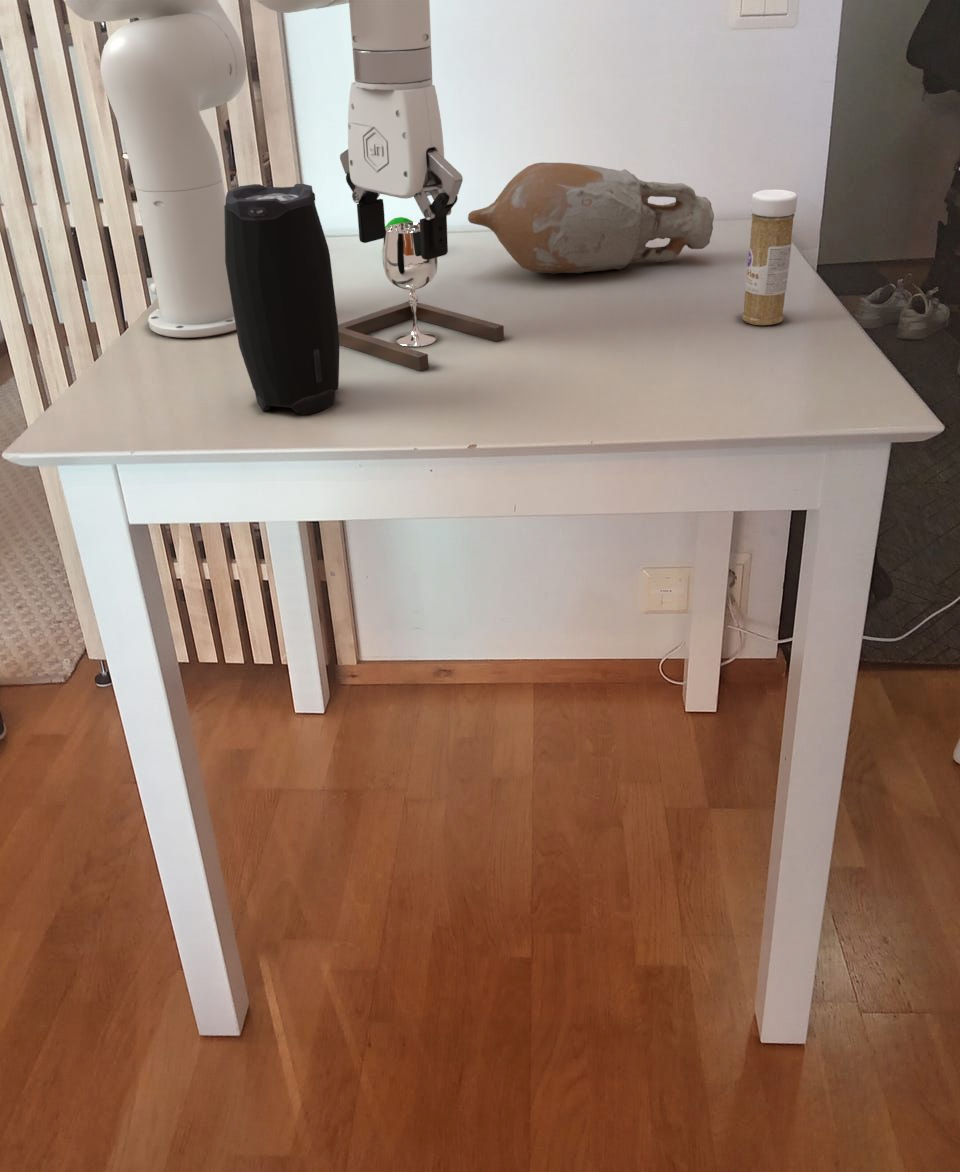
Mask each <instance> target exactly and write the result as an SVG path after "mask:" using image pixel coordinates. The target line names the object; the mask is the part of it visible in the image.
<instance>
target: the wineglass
mask: <svg viewBox="0 0 960 1172" xmlns="http://www.w3.org/2000/svg"><path fill="white" fill-rule="evenodd" d="M438 259H439V258H438V257H436V258H433V259H429V260H425V259H423V258H422V256H421V242H420V222H414V221H413V222H409V223H399V224H394V225H391V226H388V227H387V228H386V229H385V235H384V238H383V242H382V267H383V271H384V274H385V277H386V279H387V280H388V281H389V282H390V283H391V284H392V285H394V286H395V287H397V288H399V289H403V290H407V291H409V293H408V301H409V303H410V305H411V310H412V317H413V318H412V329H411V331H410V332H408V333H404V334H402V335H400V336H398V337H397V338H396V340H395V342H396V344H397V345H400V346H403V347H407V348H418V347H426V346H430V345H431V344H434V343H436V341H437V339H438V338H437V336H436V335H435V334H433V333H430V332H424V331H423V332H422V331H421V330H420V329H419V325H418V319H417V315H416V310H417V303H418V302H419V297H418V294H417V292H416V290H420V289H422V288H424V287H425V286H428V285H429V284H430V283H431V282H432V281H433V280H434V278H435V277H436V274H437V271H438Z"/></svg>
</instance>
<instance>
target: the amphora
mask: <svg viewBox="0 0 960 1172" xmlns="http://www.w3.org/2000/svg"><path fill="white" fill-rule="evenodd" d="M650 197H656V198H675V201H674V202H670V203H666V204H656V203H653V202H652V203H651V202H649V198H650ZM714 218H715V213H714V211H713V207H712V203H711V201H710V200H709V199H708V198H707V197H706V196H700V195H696V193H695V190H694V189H693V188H692V187H691V186H689V185H687V184H685V183H682V182H677V183H676V182H675V183H670V182H669V183H668V182H661V181H659V182H658V181H657V182H656V181H644V180H641V179H639V178H638V177H637V176H636V175H635V174H634V173H631V172H630V171H629V170H627V169H625V168H623V169H622V170H617V169H614V168H607V167H602V166H597V165H591V164H590V165H589V164H581V163H573V162H572V163H571V162H536V163H533V164H530V165H528V166H526V167H525V168H523V169H522V170H521V171H519V172H518V173H517V174H516V175H515V176H513V177H512V179H510V180H509V182H508V183H507V184H506V185H505V187H504V188H503V189H502V190H501V192H500V193H499V195H498V196H497V198H496V199H495V200H494V201H493V202H492V203H491V204H489V205H488V206H486V207H483V208H479V209H474V210H472V211H470V212H469V213H468V215H467V221H468V222H469V223H470V224H473V225H478V226H482V227H486V228H488V229H490V231H491V232H493V233H494V235H495V236H496V238H497V240H498V241H499V242H500V245H502V247H504V249H505V250H506V252H507V253H508V254H509V256H510V257H511V258H512V259H513V261H515V262H516V263H517V264H518V265H519V266H520V267H521V268H523V269H525V270H528V271H530V272H535V273H542V274H543V273H544V274H552V275H557V274H579V275H580V274H583V273H589V272H599V271H600V272H602V271H603V272H604V271H609V270H618V271H620V270H623V269H624V268H626V267H627V266H628V265H629V263H631V262H642V261H643V262H651V263H652V262H653V263H656V262H659V263H660V262H661V263H667V262H668V261H674V260H675V259H676V258H677V257H678V256H679V255H680V253H681V252H682V250H683V249H684V248H685V246H686V247H687V248H688V249H691V250H703V249H705V248H707V246H708V245H709V244H710V243H711V237H712V235H713V230H714ZM656 239H660V240H665V239H669V242H668V243H667V244H666V245H663V246H656V247H655V246H654V247H653V246H651V247H650V246H647V244H648V242H650V241H655V240H656Z"/></svg>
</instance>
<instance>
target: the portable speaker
mask: <svg viewBox="0 0 960 1172" xmlns="http://www.w3.org/2000/svg"><path fill="white" fill-rule="evenodd" d="M225 196H226V204H225V205H224V213H225V264H226V270H227V276H228V282H229V288H230V294H231V300H232V306H233V312H234V318H235V324H236V330H235V331H236V336H237V341H238V347H239V350H240V353H241V356H242V360H243V362H244V365H245V368H246V371H247V374H248V377H249V380H250V384H251V387H252V389H253V391H254V394H255V398H256V404H257V405H258V407H259V409H260V410H261V411H262V412H267V411H270V410H271V407H278V408H288V409H292V410H293V411H294V412H295V413H296V414H297V415H302V416H303V415H304V416H308V415H311V414H315V413H318V412H320V411H323V410H325V409H327V408H329V407H331V406H333V404H334V401H335V397H336V393H337V391H338V390H339V387H340V346H341V345H340V344H339V333H338V325H339V322H338V321H339V320H338V314H337V313H338V312H337V304H336V296H335V287H334V278H333V271H332V270H333V269H332V262H331V254H330V250H329V246H328V243H327V239H326V236H325V235H326V234H325V232H324V230H323V226H322V223H321V219H320V216H319V213H318V210H317V207H316V194H315V192H314V190H313V186H312V185H310V184H306V183H295V184H294V185H293V186H283V187H282V186H264V185H262V184H258V183H254V184H246V185H239V186H237V187H234V188H233V189H230V190H228V191H227V192H226V194H225Z"/></svg>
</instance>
